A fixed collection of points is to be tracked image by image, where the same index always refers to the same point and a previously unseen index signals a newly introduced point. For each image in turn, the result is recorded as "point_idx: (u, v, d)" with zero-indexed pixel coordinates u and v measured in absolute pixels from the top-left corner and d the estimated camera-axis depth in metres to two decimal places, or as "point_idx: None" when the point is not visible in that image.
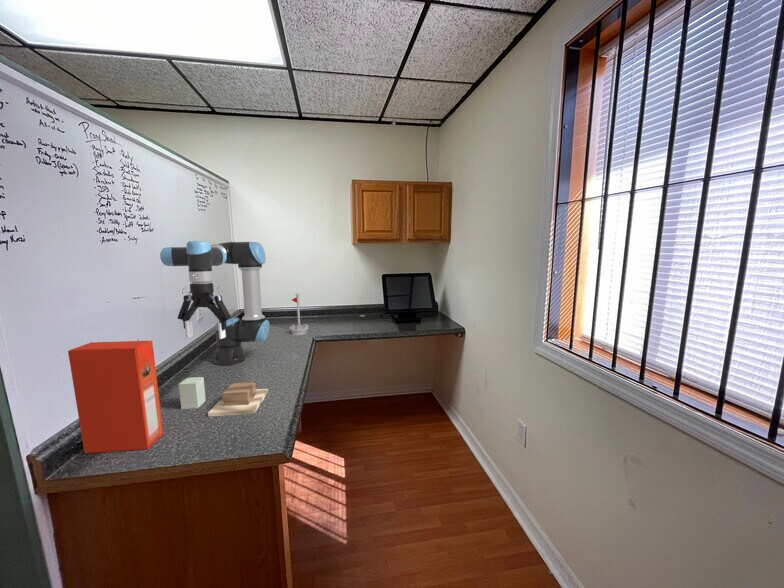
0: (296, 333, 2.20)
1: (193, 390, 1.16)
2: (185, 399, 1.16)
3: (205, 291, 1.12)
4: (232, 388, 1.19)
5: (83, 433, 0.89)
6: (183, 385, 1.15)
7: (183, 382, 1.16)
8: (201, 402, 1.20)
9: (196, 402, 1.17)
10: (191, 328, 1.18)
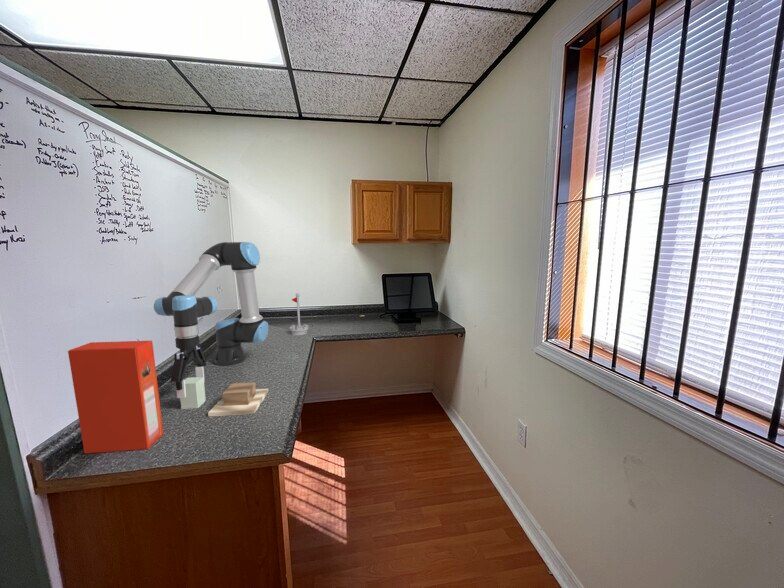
0: (296, 333, 2.20)
1: (193, 390, 1.16)
2: (185, 399, 1.16)
3: (177, 346, 1.13)
4: (232, 388, 1.19)
5: (83, 433, 0.89)
6: None
7: None
8: (201, 402, 1.20)
9: (196, 402, 1.17)
10: (201, 374, 1.24)
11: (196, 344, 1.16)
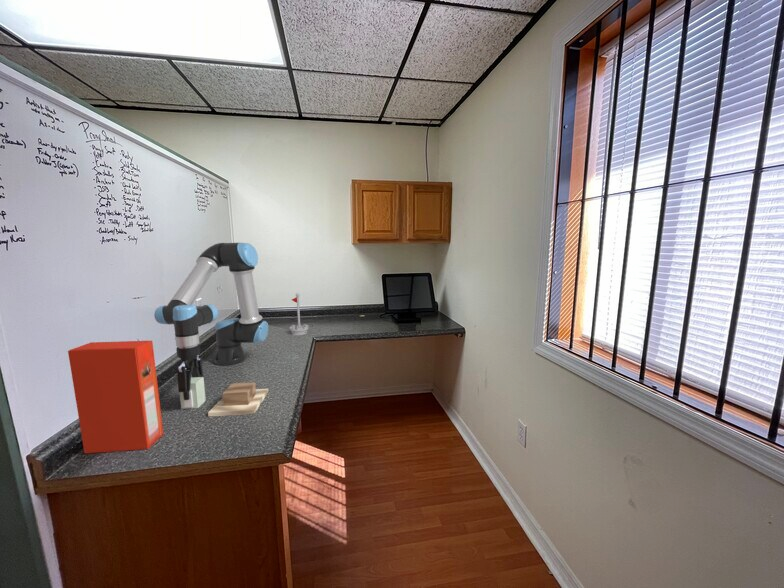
0: (296, 333, 2.20)
1: (193, 390, 1.16)
2: None
3: (178, 356, 1.13)
4: (232, 388, 1.19)
5: (83, 433, 0.89)
6: None
7: None
8: (201, 402, 1.20)
9: (196, 402, 1.17)
10: None
11: (197, 353, 1.16)
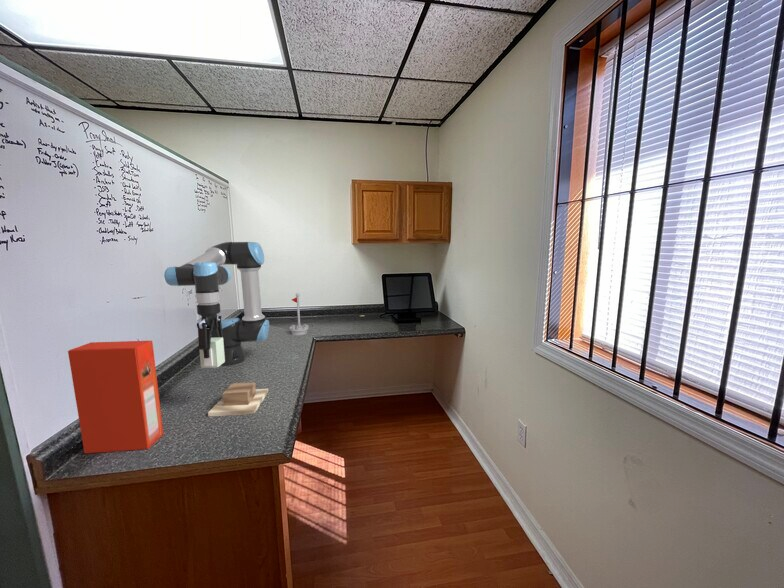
0: (296, 333, 2.20)
1: (213, 349, 1.14)
2: None
3: (198, 313, 1.12)
4: (232, 388, 1.19)
5: (83, 433, 0.89)
6: None
7: None
8: (221, 362, 1.17)
9: (216, 361, 1.14)
10: None
11: (217, 311, 1.14)
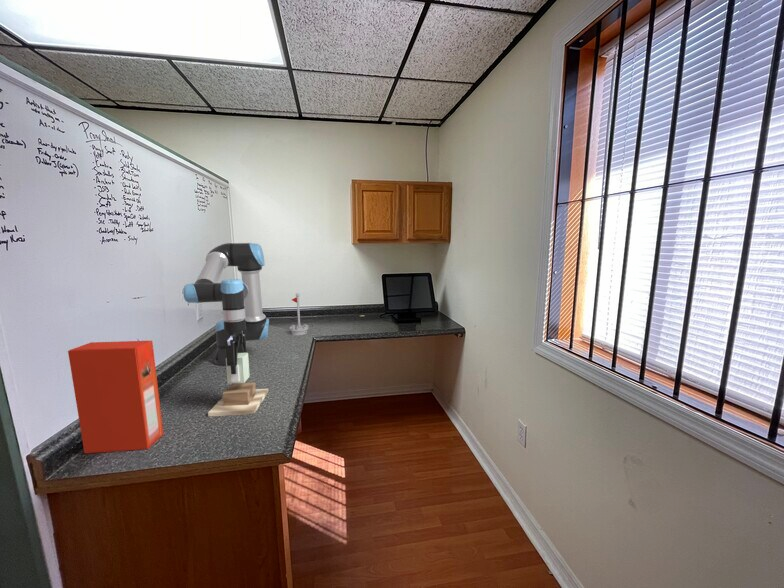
0: (296, 333, 2.20)
1: (240, 364, 1.15)
2: None
3: (225, 329, 1.13)
4: (232, 388, 1.19)
5: (83, 433, 0.89)
6: None
7: None
8: (246, 377, 1.19)
9: (242, 377, 1.16)
10: None
11: (244, 328, 1.16)
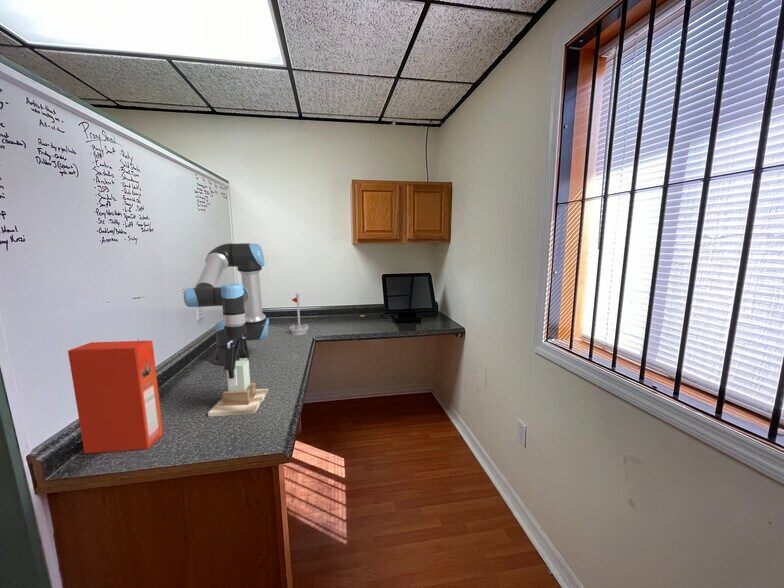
0: (296, 333, 2.20)
1: (241, 372, 1.16)
2: None
3: (226, 334, 1.13)
4: None
5: (83, 433, 0.89)
6: None
7: None
8: (247, 385, 1.20)
9: (243, 384, 1.17)
10: None
11: (244, 332, 1.16)
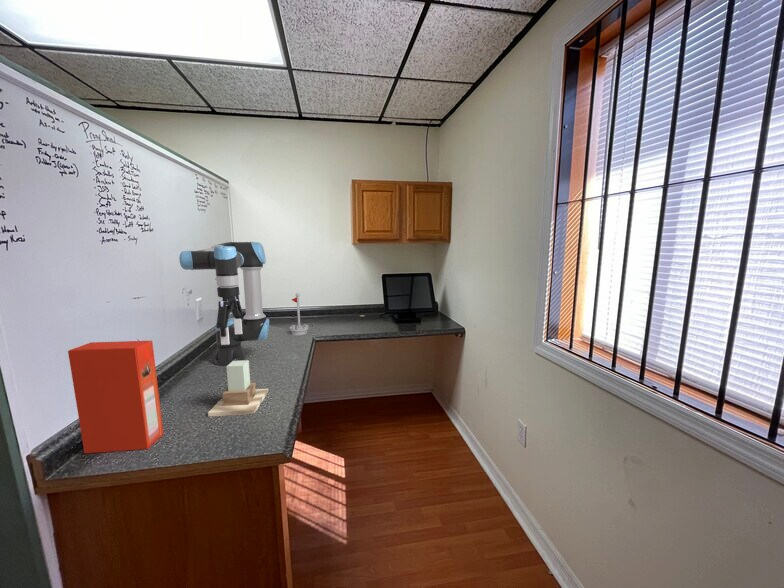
0: (296, 333, 2.20)
1: (241, 372, 1.16)
2: (232, 382, 1.16)
3: (219, 295, 1.16)
4: None
5: (83, 433, 0.89)
6: (231, 367, 1.15)
7: (230, 364, 1.17)
8: (247, 385, 1.20)
9: (243, 384, 1.17)
10: (239, 326, 1.28)
11: (237, 294, 1.18)
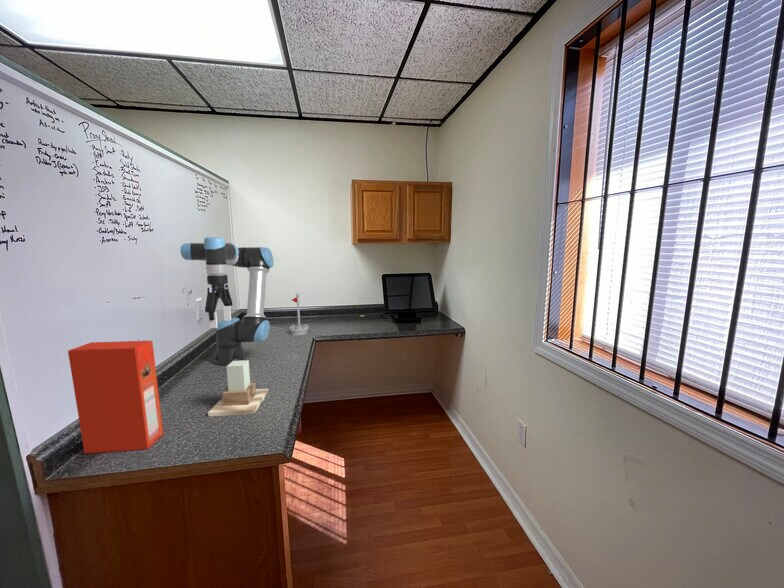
0: (296, 333, 2.20)
1: (241, 372, 1.16)
2: (232, 382, 1.16)
3: (208, 282, 1.25)
4: None
5: (83, 433, 0.89)
6: (231, 367, 1.15)
7: (230, 364, 1.17)
8: (247, 385, 1.20)
9: (243, 384, 1.17)
10: (228, 313, 1.37)
11: (225, 282, 1.28)
